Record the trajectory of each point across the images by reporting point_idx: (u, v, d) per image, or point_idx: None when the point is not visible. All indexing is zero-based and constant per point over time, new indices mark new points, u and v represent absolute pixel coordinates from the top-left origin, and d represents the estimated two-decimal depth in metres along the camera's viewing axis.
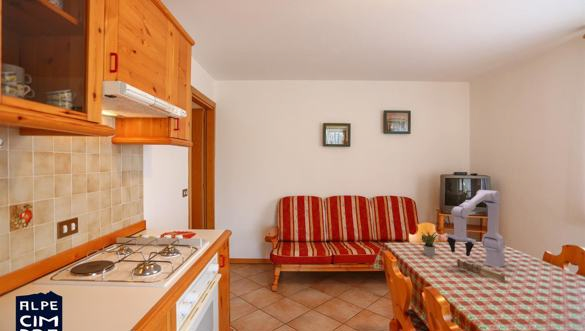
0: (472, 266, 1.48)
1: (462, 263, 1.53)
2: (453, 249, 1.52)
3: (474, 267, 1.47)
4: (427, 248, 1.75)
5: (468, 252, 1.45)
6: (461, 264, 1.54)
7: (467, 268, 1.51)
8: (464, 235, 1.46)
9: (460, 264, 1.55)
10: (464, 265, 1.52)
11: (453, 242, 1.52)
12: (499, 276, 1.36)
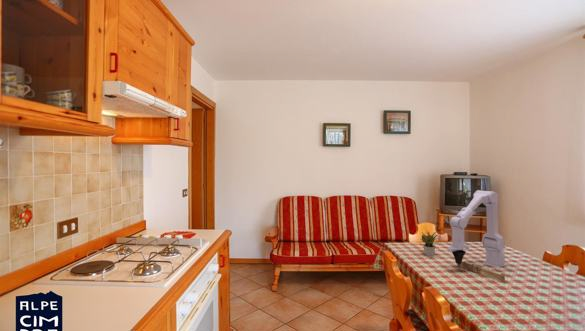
0: (472, 266, 1.48)
1: (462, 263, 1.53)
2: None
3: (474, 267, 1.47)
4: (427, 248, 1.75)
5: None
6: (461, 264, 1.54)
7: (467, 268, 1.51)
8: None
9: (460, 264, 1.55)
10: (464, 265, 1.52)
11: None
12: (499, 276, 1.36)
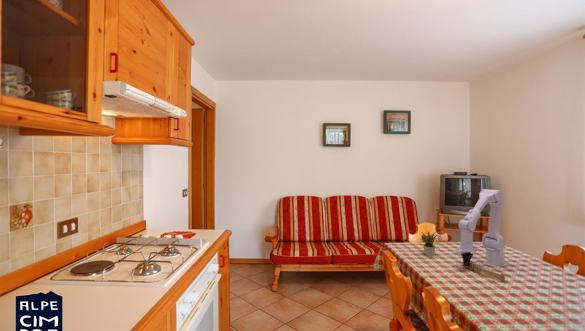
0: (473, 266, 1.49)
1: None
2: None
3: (475, 267, 1.48)
4: (427, 248, 1.75)
5: None
6: None
7: (470, 268, 1.51)
8: None
9: None
10: None
11: None
12: (499, 276, 1.36)
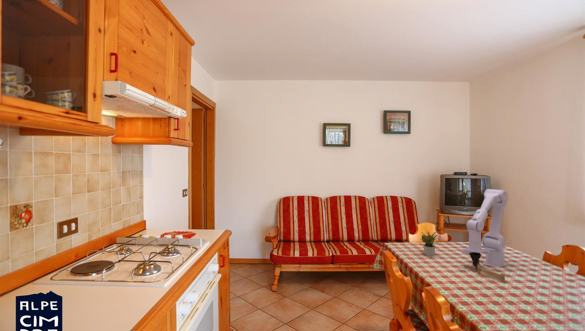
0: (477, 266, 1.48)
1: (477, 263, 1.53)
2: None
3: None
4: (427, 248, 1.75)
5: None
6: None
7: (477, 268, 1.51)
8: (480, 247, 1.52)
9: None
10: None
11: None
12: (499, 276, 1.36)
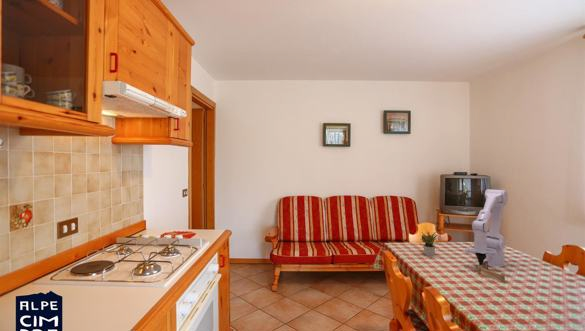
0: None
1: None
2: None
3: None
4: (427, 248, 1.75)
5: None
6: None
7: None
8: (486, 248, 1.50)
9: None
10: None
11: None
12: (499, 276, 1.36)
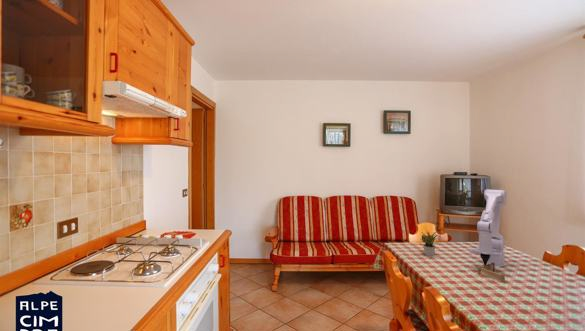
0: None
1: None
2: None
3: None
4: (427, 248, 1.75)
5: None
6: None
7: None
8: (491, 249, 1.48)
9: None
10: None
11: None
12: (499, 276, 1.36)
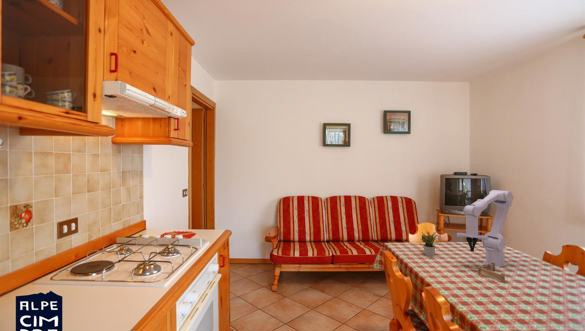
0: None
1: None
2: None
3: None
4: (427, 248, 1.75)
5: None
6: None
7: None
8: (477, 233, 1.52)
9: None
10: None
11: None
12: (499, 276, 1.36)
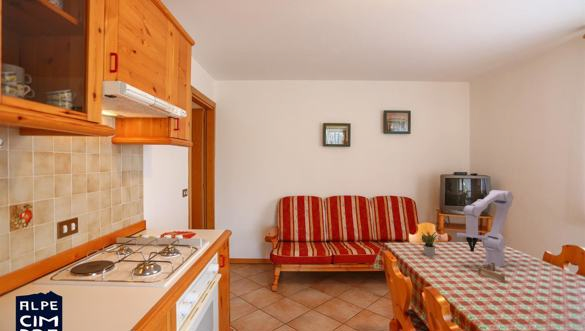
0: None
1: None
2: None
3: None
4: (427, 248, 1.75)
5: None
6: None
7: None
8: (477, 233, 1.52)
9: None
10: None
11: None
12: (499, 276, 1.36)
